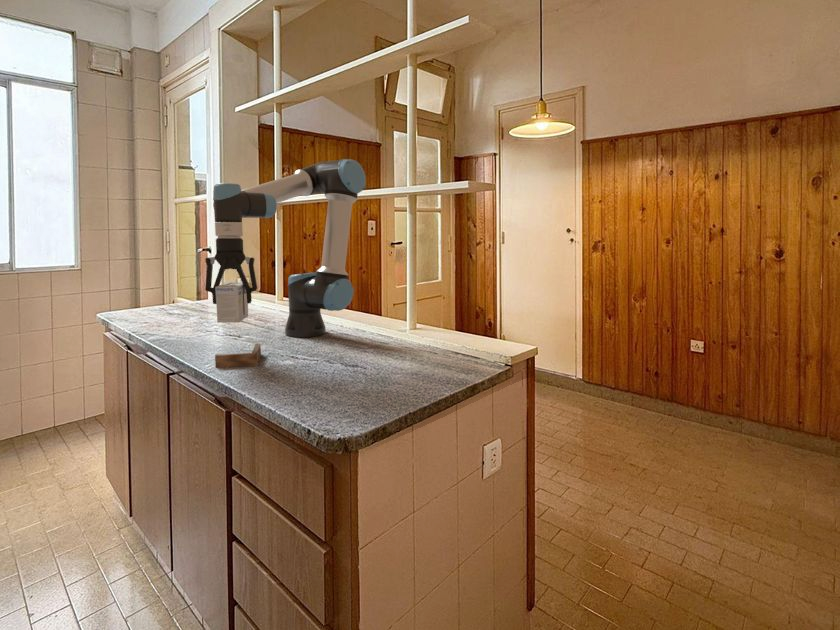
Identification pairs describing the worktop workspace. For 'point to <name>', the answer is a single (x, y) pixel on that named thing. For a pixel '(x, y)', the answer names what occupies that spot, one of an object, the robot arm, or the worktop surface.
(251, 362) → the walnut corner fence
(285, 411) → the worktop surface
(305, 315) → the robot arm
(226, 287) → the light bulb box
